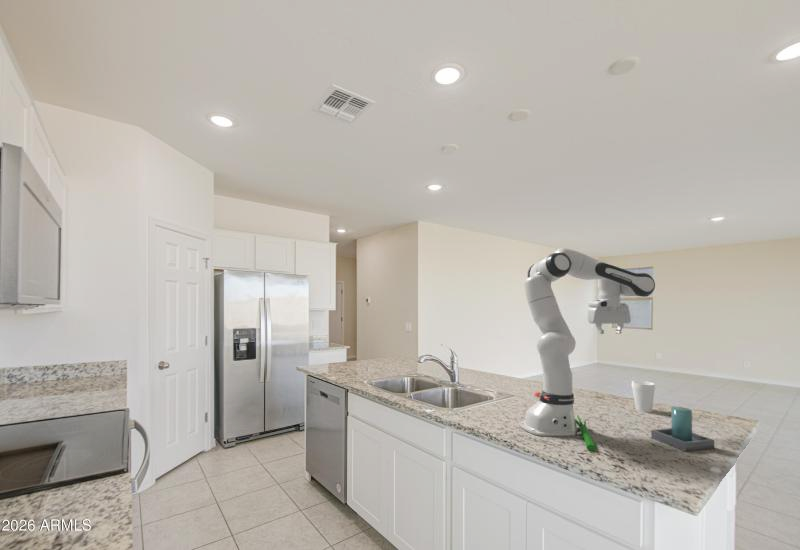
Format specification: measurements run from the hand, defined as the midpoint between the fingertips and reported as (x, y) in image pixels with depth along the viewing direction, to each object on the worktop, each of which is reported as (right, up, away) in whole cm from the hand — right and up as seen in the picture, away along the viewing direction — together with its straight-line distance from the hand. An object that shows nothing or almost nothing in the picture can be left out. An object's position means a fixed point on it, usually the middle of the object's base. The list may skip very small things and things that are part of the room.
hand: (609, 333), depth 164 cm
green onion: (-24, -36, -24) cm, 49 cm away
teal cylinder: (+9, -34, -30) cm, 46 cm away
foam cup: (+21, -38, +9) cm, 45 cm away
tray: (+9, -35, -30) cm, 48 cm away
